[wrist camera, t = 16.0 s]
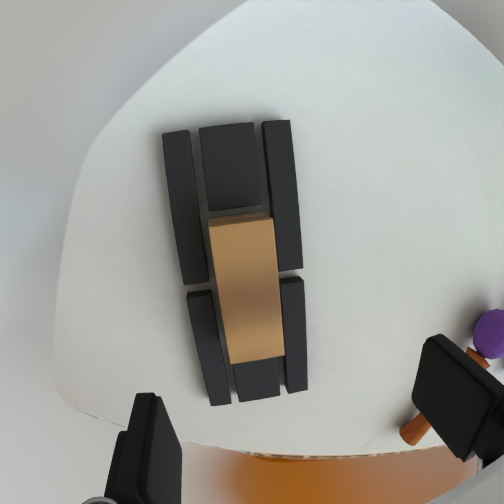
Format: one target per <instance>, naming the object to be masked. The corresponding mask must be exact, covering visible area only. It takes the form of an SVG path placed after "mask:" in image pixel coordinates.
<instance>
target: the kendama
mask: <svg viewBox="0 0 504 504" xmlns="http://www.w3.org/2000/svg"><path fill="white" fill-rule="evenodd" d="M473 344H474V346H475V348H476V350H477V351H475V350H473V349H471V348H470V347H467V350H466V354H468V355H469V356H470V357H471V358H472V359H474V360H475V361H476V362H477V363H478V364H479V365H481V366H482V367H483V368H484V369H487V368H488V367H490V365H489V364H488V362H487V361H486V360H485V358H488V359H496V358H500V357H502V356H503V355H504V310H499V309H494V310H490V311H487V312H486V313H485V314H483V315H482V316H481V317H480V318H479V320H478V321H477V323H476V324H475V327H474V331H473ZM430 427H431V425H430V423H429V422H428V421H427V420H426V418H425V417H424V416H423V415H422V413H421V412H420V413H419V414H418V415H417V416H416V417H415V418H413V419H412V420H411V421H410V422H409V423H407V424H406V425H405V426H404V427H402V428H401V429H400V430H399V433H400V436H401V437H402V439H403V440H404V441H405V442H406V443H408V444H409V445H411V446H414V445H416V444H417V443H418V441H419V440H420V439H421V438H422V437H423V436H424V435H425V433H426V432H427V431H428V430H429V429H430Z"/></svg>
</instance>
